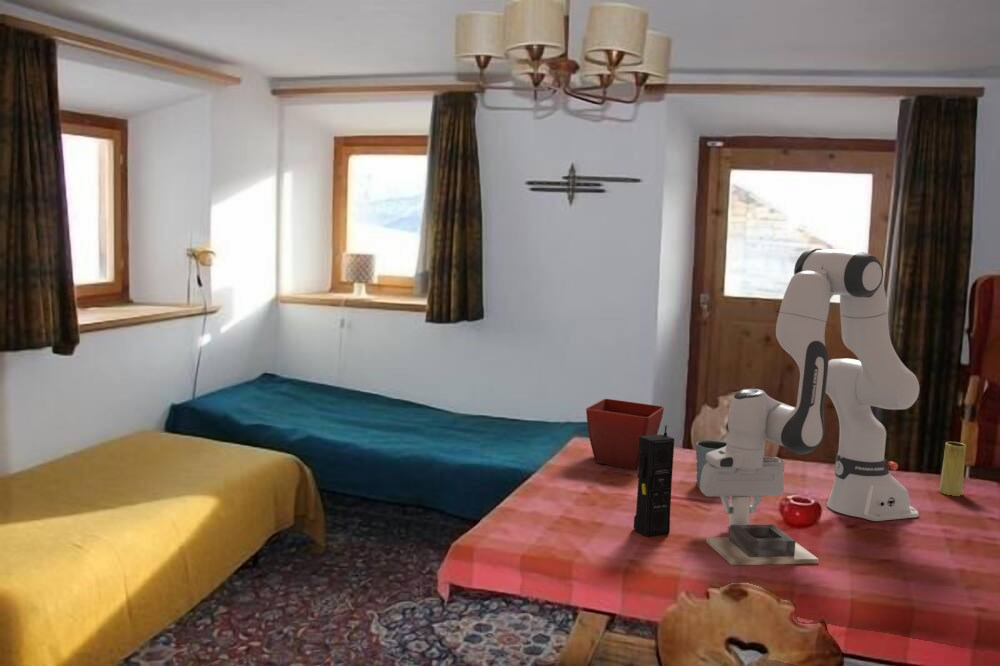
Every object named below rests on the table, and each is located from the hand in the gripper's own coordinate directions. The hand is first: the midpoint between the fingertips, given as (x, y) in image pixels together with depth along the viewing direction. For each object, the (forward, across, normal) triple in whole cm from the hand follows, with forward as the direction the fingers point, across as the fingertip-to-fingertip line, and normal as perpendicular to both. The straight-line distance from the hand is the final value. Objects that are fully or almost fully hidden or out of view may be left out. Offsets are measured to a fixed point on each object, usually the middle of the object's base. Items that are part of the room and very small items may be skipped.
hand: (739, 513), depth 219 cm
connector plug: (+4, 0, 0) cm, 4 cm away
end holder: (+4, +2, +16) cm, 17 cm away
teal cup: (+4, -7, -33) cm, 34 cm away
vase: (+4, -75, -25) cm, 79 cm away
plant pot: (+4, +11, -58) cm, 59 cm away
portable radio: (+4, +23, +2) cm, 23 cm away
